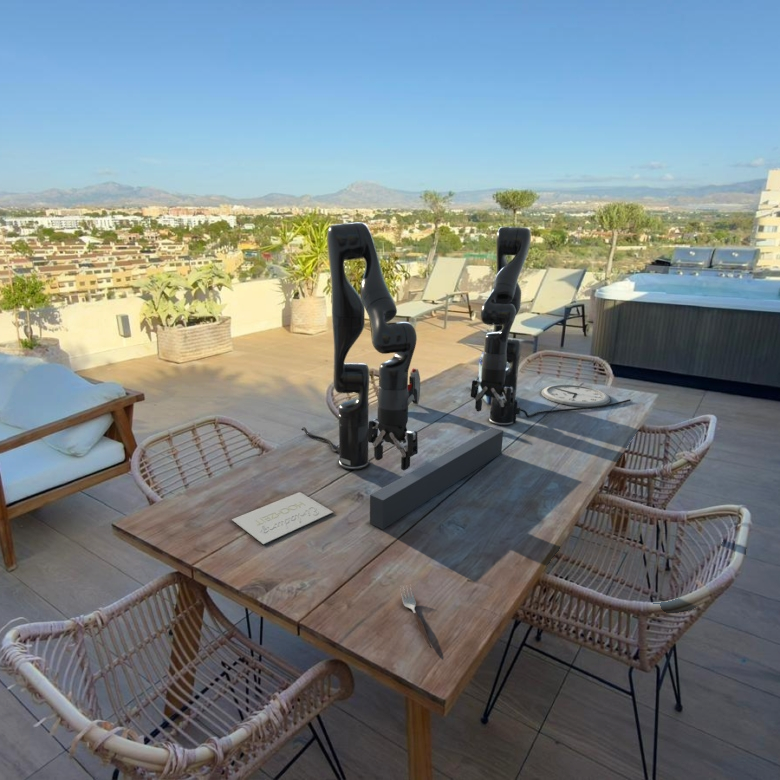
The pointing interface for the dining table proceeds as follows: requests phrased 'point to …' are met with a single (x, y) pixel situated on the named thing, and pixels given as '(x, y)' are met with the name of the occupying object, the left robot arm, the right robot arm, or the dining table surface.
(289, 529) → the invitation card
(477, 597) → the dining table surface
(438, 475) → the bar
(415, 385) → the toy gun
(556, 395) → the wall clock
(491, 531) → the dining table surface
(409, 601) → the fork
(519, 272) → the right robot arm
